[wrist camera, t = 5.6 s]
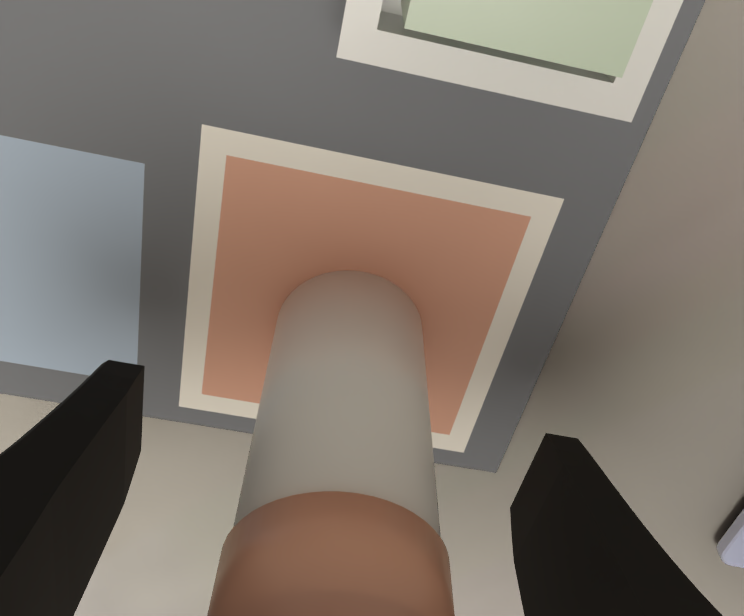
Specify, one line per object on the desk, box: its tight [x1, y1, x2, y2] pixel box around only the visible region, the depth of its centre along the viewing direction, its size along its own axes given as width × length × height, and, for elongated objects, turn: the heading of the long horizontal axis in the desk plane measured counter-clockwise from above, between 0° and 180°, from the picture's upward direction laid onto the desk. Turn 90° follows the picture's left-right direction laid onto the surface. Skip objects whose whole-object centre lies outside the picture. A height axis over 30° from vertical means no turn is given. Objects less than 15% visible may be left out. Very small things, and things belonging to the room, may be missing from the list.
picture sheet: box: [0, 0, 705, 473], centre depth 13 cm, size 15×15×1 cm
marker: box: [207, 270, 455, 616], centre depth 12 cm, size 3×3×8 cm
